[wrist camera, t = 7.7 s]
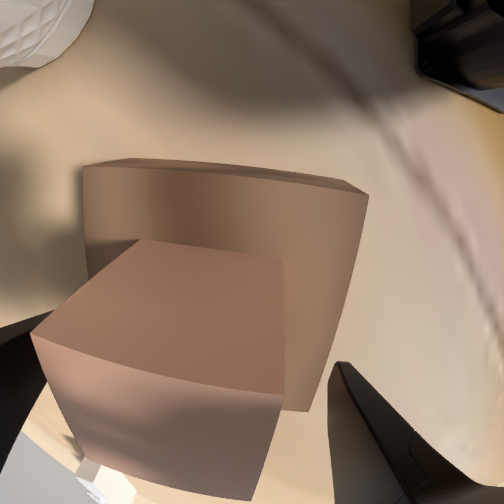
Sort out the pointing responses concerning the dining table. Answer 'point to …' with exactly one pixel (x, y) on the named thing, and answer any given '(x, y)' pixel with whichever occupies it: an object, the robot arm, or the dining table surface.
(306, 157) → the dining table surface
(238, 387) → the terracotta block
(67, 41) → the white cup
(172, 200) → the block
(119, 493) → the napkin holder
